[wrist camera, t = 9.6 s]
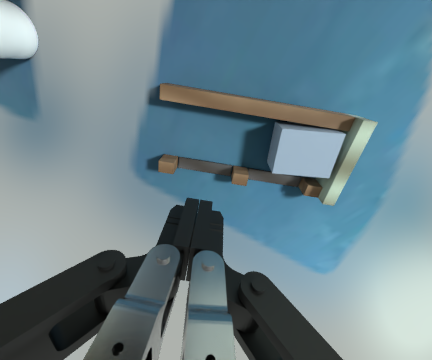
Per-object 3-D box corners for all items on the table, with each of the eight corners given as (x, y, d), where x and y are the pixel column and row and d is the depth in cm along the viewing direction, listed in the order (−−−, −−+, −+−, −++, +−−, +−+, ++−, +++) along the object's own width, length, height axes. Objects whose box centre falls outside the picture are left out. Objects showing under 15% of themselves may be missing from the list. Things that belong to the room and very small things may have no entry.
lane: (166, 83, 24) (155, 84, 21) (356, 115, 25) (377, 122, 21) (163, 164, 29) (154, 176, 26) (321, 189, 30) (333, 205, 26)
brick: (274, 121, 26) (282, 128, 22) (329, 125, 26) (345, 134, 22) (266, 160, 28) (272, 173, 25) (316, 165, 28) (329, 178, 25)
